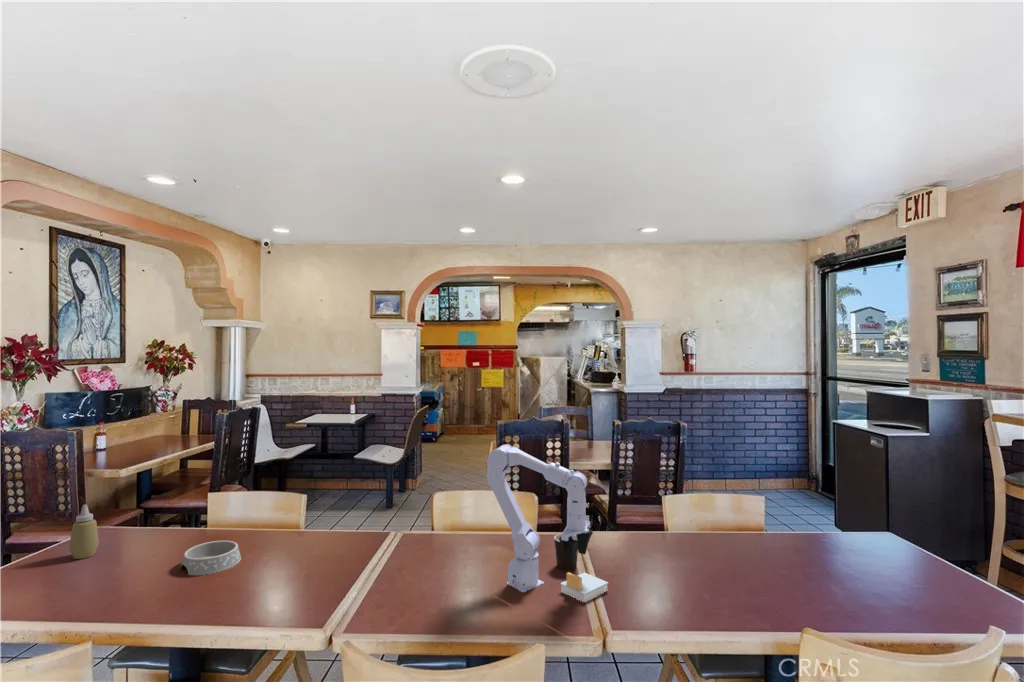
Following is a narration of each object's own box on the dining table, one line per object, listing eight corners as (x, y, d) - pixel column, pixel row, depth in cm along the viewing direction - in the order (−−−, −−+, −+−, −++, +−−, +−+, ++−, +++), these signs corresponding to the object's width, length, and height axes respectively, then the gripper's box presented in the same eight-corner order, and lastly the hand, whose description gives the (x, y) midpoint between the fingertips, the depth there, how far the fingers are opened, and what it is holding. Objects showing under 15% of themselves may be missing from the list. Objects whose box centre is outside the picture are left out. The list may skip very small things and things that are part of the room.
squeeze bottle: (85, 561, 179) (86, 508, 179) (62, 560, 179) (63, 508, 179) (104, 551, 187) (105, 501, 187) (82, 551, 187) (83, 501, 187)
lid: (584, 598, 152) (584, 581, 152) (560, 587, 159) (560, 571, 159) (608, 586, 159) (608, 570, 159) (584, 576, 166) (584, 561, 166)
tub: (584, 604, 152) (584, 595, 152) (561, 593, 158) (561, 584, 159) (607, 592, 159) (607, 584, 159) (584, 582, 166) (584, 574, 166)
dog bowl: (195, 581, 165) (195, 564, 165) (172, 565, 176) (172, 550, 176) (249, 563, 179) (249, 547, 179) (224, 550, 190) (225, 535, 190)
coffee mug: (571, 575, 171) (571, 545, 171) (549, 568, 176) (549, 538, 176) (588, 563, 180) (588, 535, 180) (566, 557, 185) (567, 529, 185)
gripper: (575, 522, 152) (575, 568, 152) (599, 509, 164) (598, 553, 163) (555, 517, 156) (555, 562, 156) (579, 505, 168) (579, 547, 168)
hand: (576, 557), depth 160 cm, fingers open, 7 cm apart
